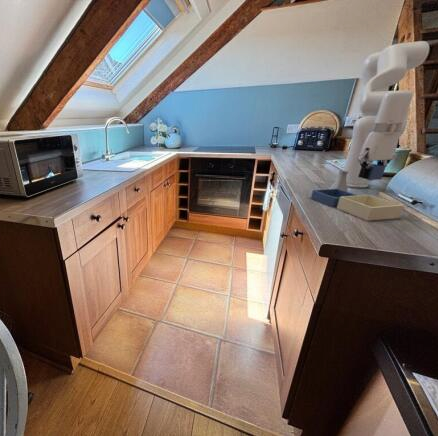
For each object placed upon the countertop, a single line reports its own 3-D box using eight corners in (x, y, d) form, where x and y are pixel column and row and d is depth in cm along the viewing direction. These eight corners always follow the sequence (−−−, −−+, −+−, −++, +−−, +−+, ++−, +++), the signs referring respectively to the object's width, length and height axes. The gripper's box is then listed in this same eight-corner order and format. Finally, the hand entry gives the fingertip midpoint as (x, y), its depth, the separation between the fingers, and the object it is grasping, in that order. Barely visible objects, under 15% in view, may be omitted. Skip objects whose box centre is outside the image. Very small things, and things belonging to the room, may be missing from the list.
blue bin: (334, 196, 104) (336, 188, 103) (358, 205, 94) (361, 196, 93) (310, 198, 103) (312, 190, 102) (332, 207, 93) (335, 198, 92)
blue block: (368, 176, 99) (373, 163, 97) (381, 179, 94) (386, 166, 92) (357, 176, 98) (361, 164, 96) (369, 180, 94) (374, 167, 92)
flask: (340, 190, 112) (347, 169, 108) (351, 195, 105) (358, 172, 102) (324, 190, 113) (329, 169, 109) (333, 195, 106) (340, 172, 102)
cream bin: (365, 206, 93) (369, 194, 91) (399, 218, 82) (404, 205, 80) (336, 208, 92) (340, 196, 90) (367, 220, 81) (372, 207, 79)
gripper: (396, 126, 93) (379, 173, 100) (356, 129, 91) (341, 176, 99) (418, 128, 86) (398, 178, 93) (375, 130, 84) (358, 181, 92)
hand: (369, 176), depth 96 cm, fingers closed on blue block, 5 cm apart
